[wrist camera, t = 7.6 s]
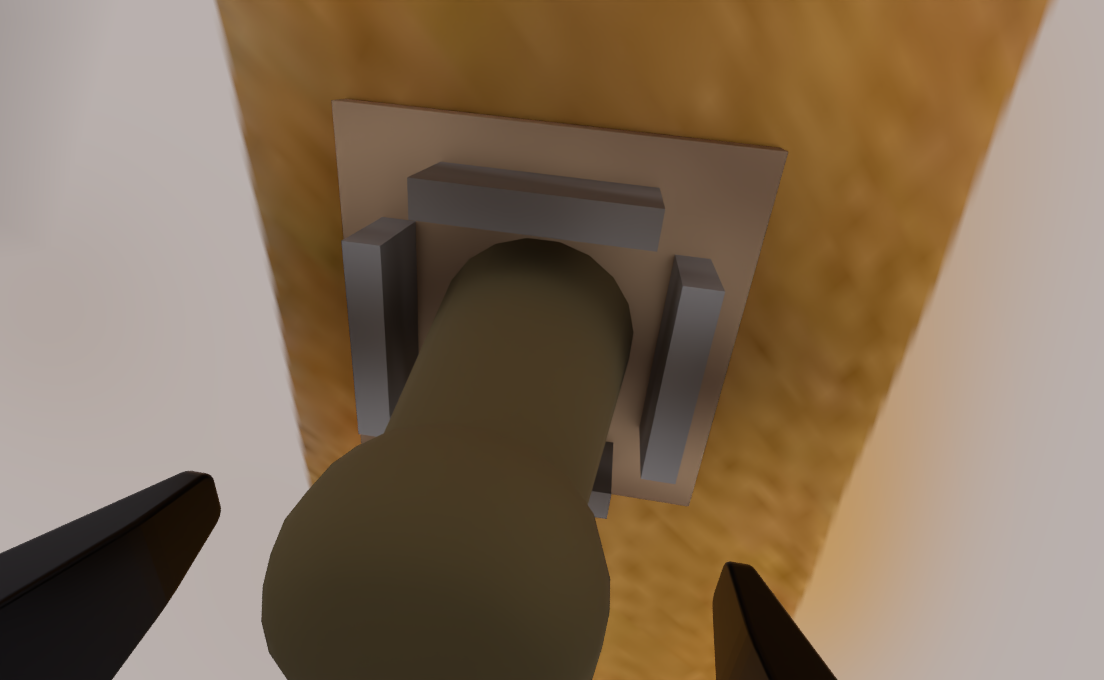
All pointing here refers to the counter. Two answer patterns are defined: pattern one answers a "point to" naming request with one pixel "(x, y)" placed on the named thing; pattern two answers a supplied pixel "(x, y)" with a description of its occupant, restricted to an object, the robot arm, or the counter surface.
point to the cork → (468, 493)
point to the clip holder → (577, 221)
